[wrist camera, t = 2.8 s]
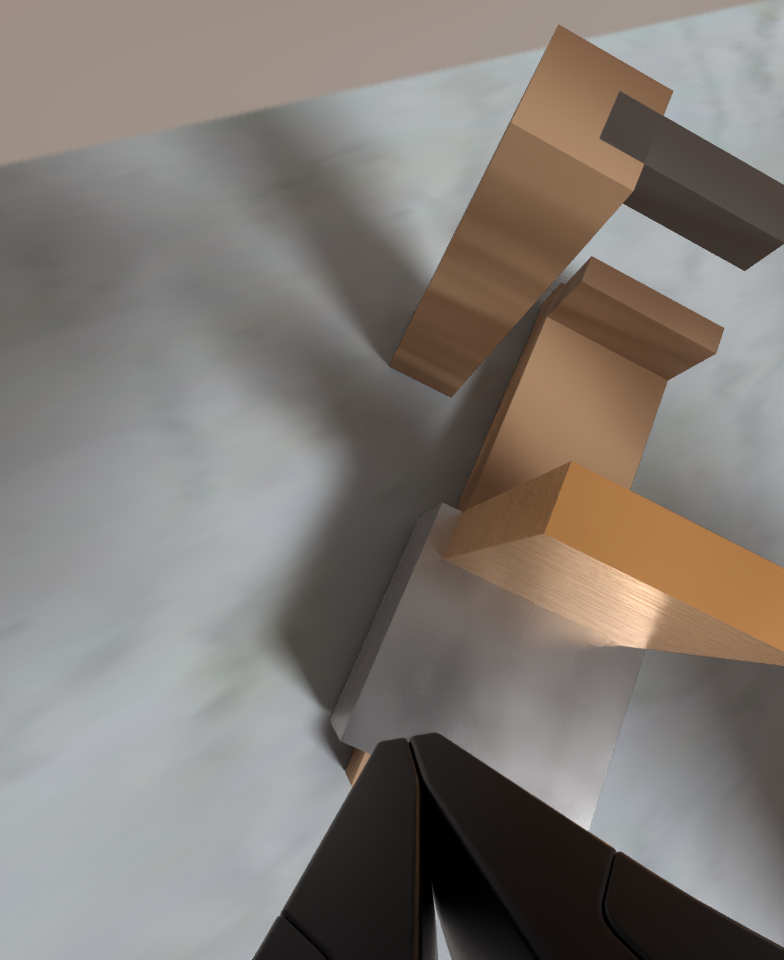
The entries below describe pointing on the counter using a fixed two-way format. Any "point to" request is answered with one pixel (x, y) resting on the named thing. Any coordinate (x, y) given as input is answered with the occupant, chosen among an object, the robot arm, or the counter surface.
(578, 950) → the robot arm
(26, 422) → the counter surface
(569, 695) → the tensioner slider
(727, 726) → the counter surface
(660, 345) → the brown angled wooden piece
